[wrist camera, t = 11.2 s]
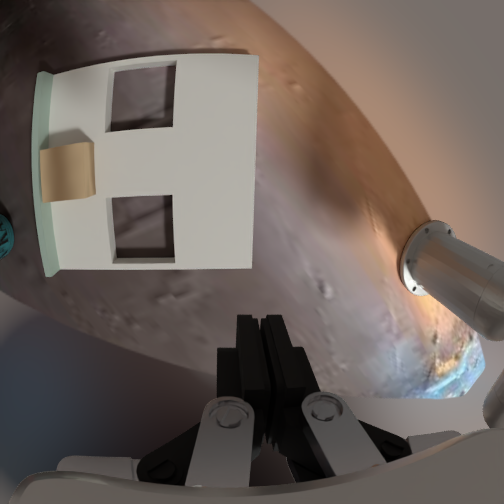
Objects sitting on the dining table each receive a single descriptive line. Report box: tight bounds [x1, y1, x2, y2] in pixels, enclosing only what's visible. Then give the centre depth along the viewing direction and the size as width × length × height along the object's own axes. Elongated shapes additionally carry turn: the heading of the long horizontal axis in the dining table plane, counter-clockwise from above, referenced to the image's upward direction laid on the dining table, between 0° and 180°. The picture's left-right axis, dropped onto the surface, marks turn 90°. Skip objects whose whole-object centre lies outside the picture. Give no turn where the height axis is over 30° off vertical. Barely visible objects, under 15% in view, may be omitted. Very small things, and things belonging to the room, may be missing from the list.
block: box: [40, 142, 96, 203], centre depth 26 cm, size 6×6×3 cm
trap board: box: [32, 54, 259, 277], centre depth 28 cm, size 26×25×4 cm
